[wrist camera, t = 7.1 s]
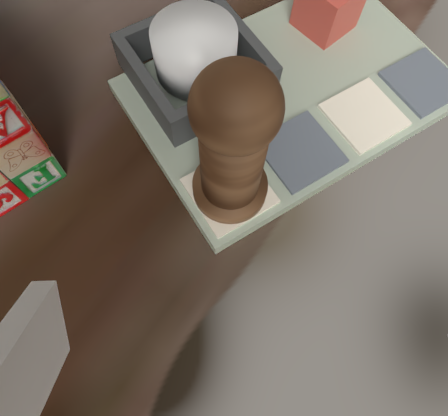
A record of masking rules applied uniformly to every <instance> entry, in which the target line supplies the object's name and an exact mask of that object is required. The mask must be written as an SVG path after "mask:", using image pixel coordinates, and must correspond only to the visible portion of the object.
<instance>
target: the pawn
mask: <svg viewBox="0 0 448 416" xmlns="http://www.w3.org/2000/svg"><path fill="white" fill-rule="evenodd" d="M187 113H188V118H189V123H190V125H191V128H192V130H193V132H194V133H195V135H196V137H197V138H198V146H199V159H200V164H199V165H198V167H197V168H196V170H195V173H194V175H193V180H192V188H193V196H194V200H195V202H196V205H197V206H198V208H199V209H200V211H201V212H202V213H203V214H204V215H205V216H207V217H208V218H210V219H211V220H213V221H216V222H219V223H223V224H237V223H242V222H244V221H247V220H249V219H251V218H252V217H254V216H255V215H256V214H257V213H258V212H259V211H260V209H261V208H262V206H263V204H264V202H265V198H266V195H267V191H268V179H267V175H266V173H265V171H264V169H263V168H264V164H265V160H266V155H267V151H268V147H269V143H271V141H272V140H273V139H274V138H275V136H276V135H277V134H278V132H279V130H280V128H281V126H282V123H283V120H284V115H285V97H284V92H283V89H282V86H281V84H280V82H279V81H278V79H277V77H276V76H275V74H274V73H273V72H272V71H271V70H270V69H269V68H268V67H267V66H265V65H264V64H263V63H261V62H259V61H257V60H255V59H252V58H249V57H245V56H229V57H224V58H221V59H218V60H216V61H214V62H212V63H211V64H209V65H208V66H206V67H205V68H204V69H203V70H202V71H201V72H200V73H199V74H198V76H197V77H196V79H195V80H194V82H193V84H192V86H191V89H190V91H189V95H188V101H187Z"/></svg>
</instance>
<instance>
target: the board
mask: <svg viewBox="0 0 448 416" xmlns="http://www.w3.org/2000/svg"><path fill="white" fill-rule="evenodd" d="M206 1H210V2H213V3H216V4H218V5H220V6H222V7H223V8H225V9H226V10H227V11H228V12H229V13H230V14H231V15H232V16H233V17H234V19H235V21H236V23H237V26H238V46H237V56H245V57H249V58H252V59H255V60H257V61H259V62H261V63H263V64H264V65H265V66H267V67H268V68H269V69H270V70H271V71H272V72H273V73H274V74H275V76H276V77H277V79H278V81H279V82H280V84H281V86H282V89H283V92H284V97H285V115H284V120H283V123H282V126H281V128H280V130H279V132H278V134H277V135H276V136H275V138H274V139H273V140H272V141H271V143H269V147H268V151H267V155H266V160H265V164H264V168H263V169H264V171H265V173H266V175H267V179H268V191H267V195H266V198H265V202H264V204H263V206H262V208H261V209H260V211H259V212H258V213H257V214H256V215H255V216H254V217H252V218H251V219H249V220H247V221H244V222H242V223H237V224H223V223H219V222H216V221H213V220H211V219H210V218H208V217H207V216H205V215H204V214H203V213H202V212H201V211H200V209H199V208H198V206H197V205H196V202H195V200H194V196H193V188H192V180H193V175H194V173H195V170H196V168H197V167H198V165H199V164H200V159H199V146H198V138H197V137H196V135H195V133H194V132H193V130H192V128H191V125H190V123H189V118H188V113H187V101H188V100H183V99H180V98H177V97H175V96H173V95H171V94H170V93H168V92H167V91H166V90H165V89H164V88H163V87H162V86H161V84H160V82H159V81H158V78H157V74H156V69H155V64H154V60H151V61H149V62H147V63H145V64H143V63H142V62H144V61H147V60H149V59H151V58H153V54H152V49H151V44H150V39H149V27H150V24H151V22H152V20H153V18H154V17H155V15H153V16H151V17H149V18H146V19H144V20H142V21H139V22H137V23H135V24H132V25H130V26H128V27H125V28H123V29H121V30H118V31H116V32H113V33H111V34H110V37H111V40H112V44H113V47H114V50H115V53H116V56H117V60H118V63H119V65H120V66H121V68H122V69H123V71H124V72H125V73H123V74H121V75H118V76H116V77H114V78H112V79H110V80H107V81H108V84H109V87H110V89H111V92H112V93H113V95H114V96H115V98H116V99H117V101H118V102H119V104H120V106H121V107H122V109H123V110H124V112H125V113H126V115H127V117H128V118H129V120H130V121H131V123H132V124H133V126H134V128H135V129H136V131H137V132H138V134H139V135H140V137H141V139H142V140H143V142H144V143H145V145H146V146H147V148H148V150H149V151H150V153H151V154H152V156H153V157H154V159H155V161H156V162H157V164H158V165H159V167H160V168H161V170H162V172H163V173H164V175H165V176H166V178H167V179H168V181H169V183H170V184H171V186H172V187H173V189H174V190H175V192H176V194H177V195H178V197H179V198H180V200H181V201H182V203H183V205H184V206H185V208H186V209H187V211H188V212H189V214H190V216H191V217H192V219H193V220H194V222H195V223H196V225H197V227H198V228H199V230H200V231H201V233H202V234H203V236H204V238H205V239H206V241H207V242H208V244H209V245H210V247H211V249H212V250H213V252H214V253H215V254H217V253H219V252H220V251H222V250H224V249H225V248H227V247H229V246H230V245H232V244H234V243H235V242H237V241H239V240H240V239H242V238H244V237H245V236H247V235H249V234H250V233H252V232H254V231H255V230H257V229H259V228H260V227H262V226H264V225H265V224H267V223H269V222H270V221H272V220H274V219H275V218H277V217H279V216H280V215H282V214H284V213H285V212H287V211H289V210H290V209H292V208H294V207H295V206H297V205H299V204H300V203H302V202H304V201H305V200H307V199H309V198H310V197H312V196H314V195H315V194H317V193H319V192H320V191H322V190H324V189H325V188H327V187H329V186H330V185H332V184H334V183H335V182H337V181H339V180H340V179H342V178H344V177H345V176H347V175H349V174H350V173H352V172H354V171H356V170H357V169H359V168H361V167H362V166H364V165H366V164H367V163H369V162H370V161H372V160H374V159H375V158H377V157H379V156H380V155H382V154H384V153H385V152H387V151H389V150H390V149H392V148H394V147H396V146H397V145H399V144H400V143H402V142H404V141H406V140H407V139H409V138H411V137H412V136H414V135H416V134H417V133H419V132H420V131H422V130H424V129H426V128H427V127H429V126H431V125H432V124H434V123H436V122H437V121H439V120H441V119H442V118H444V117H445V116H447V115H448V66H447V65H446V64H445V63H444V62H443V61H442V60H441V59H440V58H439V57H438V56H436V55H435V54H434V53H433V52H432V51H431V50H430V49H429V48H428V47H427V46H426V45H425V44H424V43H423V42H422V41H421V40H419V39H418V37H416V36H415V35H414V34H413V33H412V32H411V31H410V30H409V29H408V28H407V27H406V26H405V25H404V24H403V23H402V22H401V21H400V20H399V19H397V18H396V17H395V16H394V15H393V14H392V13H391V12H390V11H389V10H388V9H387V8H386V7H385V6H384V5H383V4H382V3H381V2H380V1H378V0H366V3H365V5H364V8H363V10H362V12H361V15H360V17H359V20H358V22H357V25H356V27H355V28H353V29H352V30H351V31H349V32H348V33H347V34H345V35H344V36H343V37H341V38H340V39H339V40H337V41H336V42H335V43H333V44H332V45H331V46H329V47H328V48H327V49H325V50H323V49H321V48H320V47H319V46H317V45H316V44H315V43H314V42H312V41H311V40H310V39H309V38H307V37H306V36H305V35H304V34H302V33H301V32H300V31H298V30H297V29H296V28H295V27H293V26H292V25H291V24H290V23H289V20H290V15H291V10H292V6H293V1H294V0H284V1H281V2H279V3H277V4H275V5H273V6H270V7H268V8H266V9H264V10H262V11H259V12H257V13H255V14H253V15H251V16H248V17H246V18H244V19H241V18H240V17H239V16H238V14H237V13H236V12H235V11H234V10H233V9H232V7H231V6H230V5H229V4H228V3H227V2H226V0H206Z"/></svg>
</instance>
